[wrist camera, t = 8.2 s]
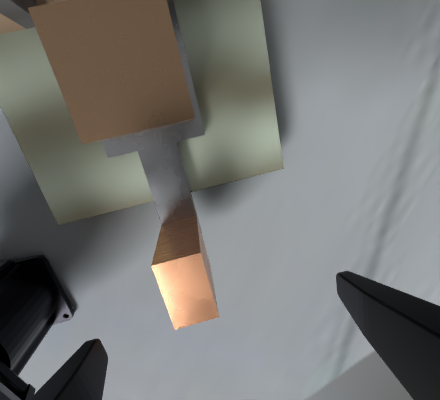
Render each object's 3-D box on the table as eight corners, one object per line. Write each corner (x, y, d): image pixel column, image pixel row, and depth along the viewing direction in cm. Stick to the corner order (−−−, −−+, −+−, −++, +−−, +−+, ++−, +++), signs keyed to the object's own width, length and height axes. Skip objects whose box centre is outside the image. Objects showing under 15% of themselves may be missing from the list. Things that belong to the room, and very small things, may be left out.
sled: (232, 253, 18) (251, 307, 13) (154, 274, 18) (140, 339, 12) (173, 7, 13) (165, -77, 8) (65, 29, 13) (-24, -42, 7)
